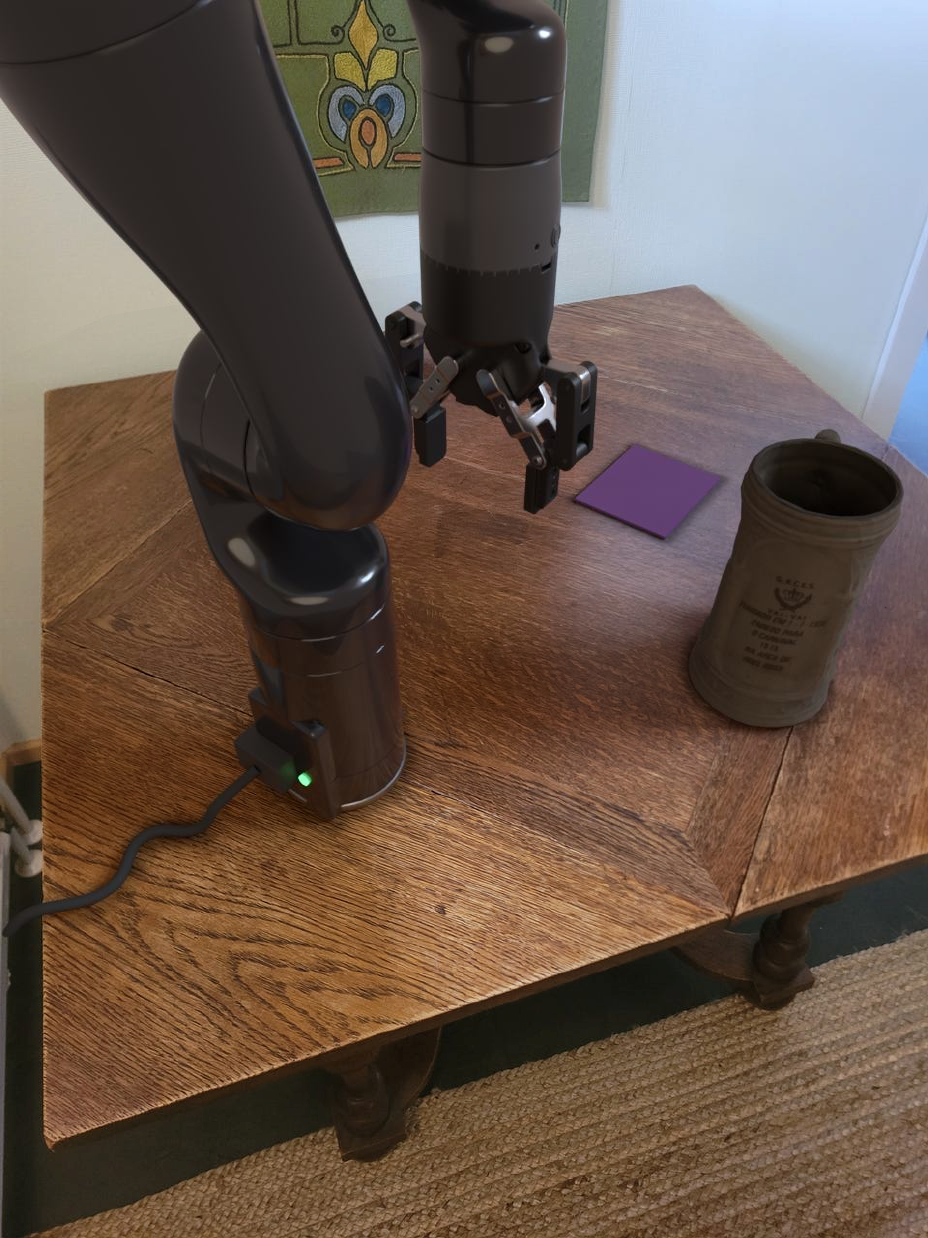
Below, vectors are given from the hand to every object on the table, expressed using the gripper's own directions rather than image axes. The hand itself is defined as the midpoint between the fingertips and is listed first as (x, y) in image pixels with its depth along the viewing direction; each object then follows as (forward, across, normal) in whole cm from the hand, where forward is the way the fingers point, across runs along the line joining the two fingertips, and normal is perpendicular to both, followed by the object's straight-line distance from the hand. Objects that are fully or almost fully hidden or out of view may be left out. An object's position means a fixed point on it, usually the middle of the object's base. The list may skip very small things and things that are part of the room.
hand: (483, 483), depth 58 cm
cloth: (+18, 0, +29) cm, 34 cm away
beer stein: (+18, +18, +14) cm, 29 cm away
